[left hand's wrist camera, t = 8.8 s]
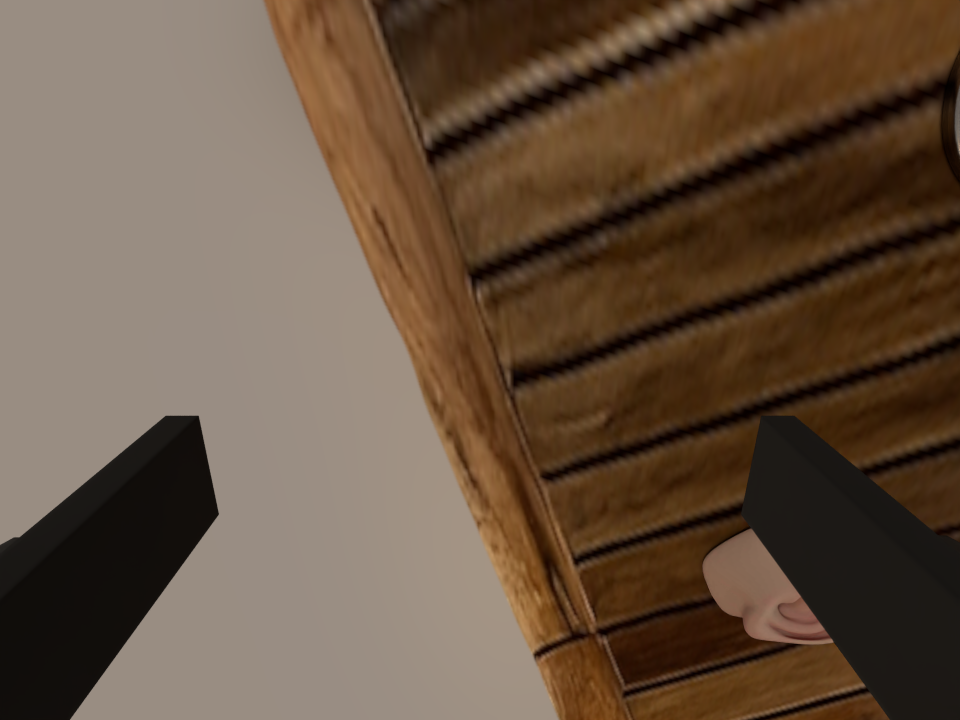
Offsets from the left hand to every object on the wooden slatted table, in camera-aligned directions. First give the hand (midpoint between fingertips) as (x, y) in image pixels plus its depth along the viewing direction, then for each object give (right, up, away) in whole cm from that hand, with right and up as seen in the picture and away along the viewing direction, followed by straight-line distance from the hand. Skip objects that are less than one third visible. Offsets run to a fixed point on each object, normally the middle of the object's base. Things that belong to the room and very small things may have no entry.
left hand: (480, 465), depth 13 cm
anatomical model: (+26, -16, +34) cm, 45 cm away
